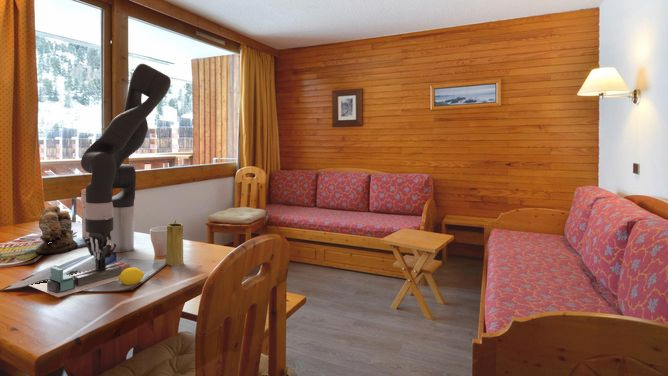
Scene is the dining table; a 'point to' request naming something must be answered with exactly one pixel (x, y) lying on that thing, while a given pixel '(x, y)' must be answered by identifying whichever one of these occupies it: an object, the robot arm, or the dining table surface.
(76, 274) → the jaw
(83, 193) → the cracker box
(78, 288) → the mat
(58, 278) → the lock collar
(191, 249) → the dining table surface
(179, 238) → the green pillar candle
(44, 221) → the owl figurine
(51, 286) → the tongs base
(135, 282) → the lemon
